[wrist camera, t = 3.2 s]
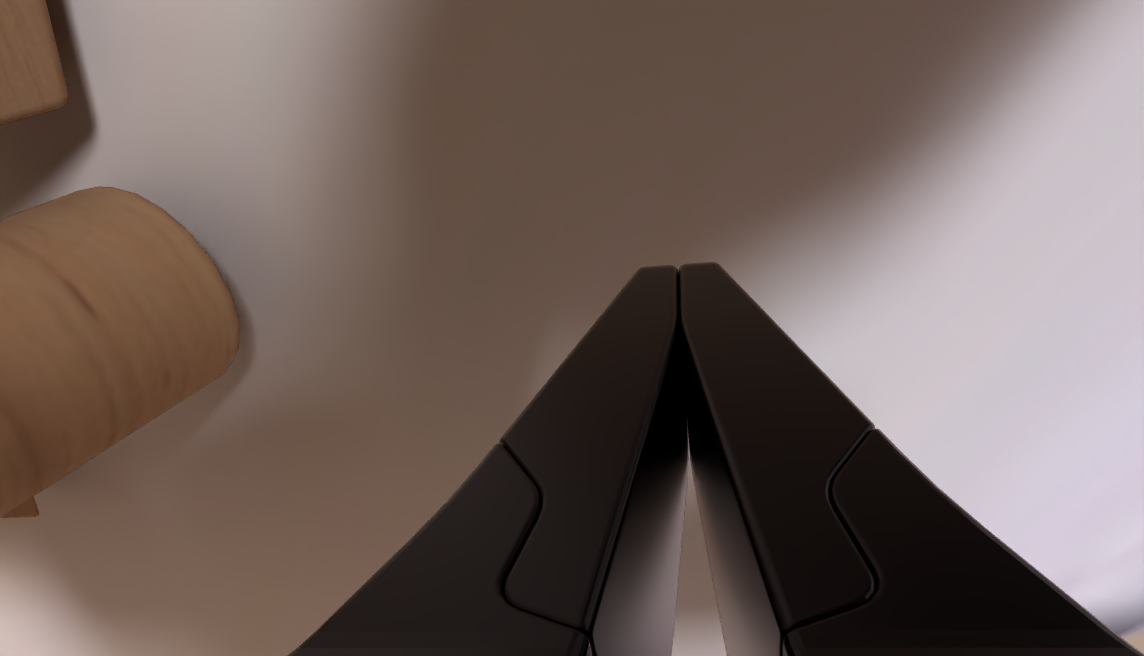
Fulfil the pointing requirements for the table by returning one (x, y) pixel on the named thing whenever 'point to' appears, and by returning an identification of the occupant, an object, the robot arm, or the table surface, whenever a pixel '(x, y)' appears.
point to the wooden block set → (90, 301)
